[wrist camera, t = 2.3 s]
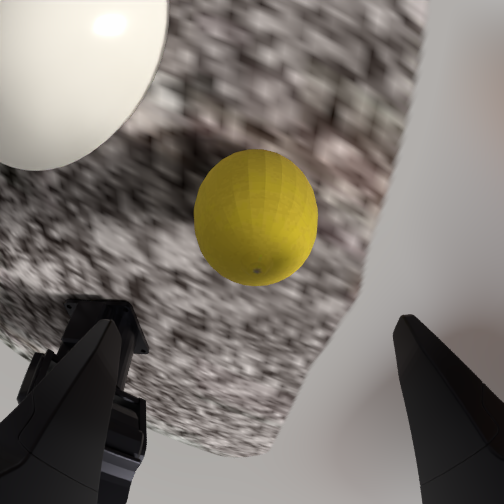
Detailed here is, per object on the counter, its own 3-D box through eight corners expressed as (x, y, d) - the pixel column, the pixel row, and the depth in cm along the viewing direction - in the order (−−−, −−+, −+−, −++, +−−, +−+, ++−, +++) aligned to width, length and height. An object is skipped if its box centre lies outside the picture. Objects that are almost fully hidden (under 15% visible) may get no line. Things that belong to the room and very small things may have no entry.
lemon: (195, 204, 19) (168, 304, 12) (221, 117, 16) (199, 180, 9) (283, 229, 20) (296, 332, 14) (319, 149, 17) (362, 230, 10)
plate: (180, 146, 17) (176, 154, 16) (-18, 178, 17) (-27, 185, 16) (170, -112, 7) (164, -120, 6) (-44, -15, 7) (-54, -14, 6)
